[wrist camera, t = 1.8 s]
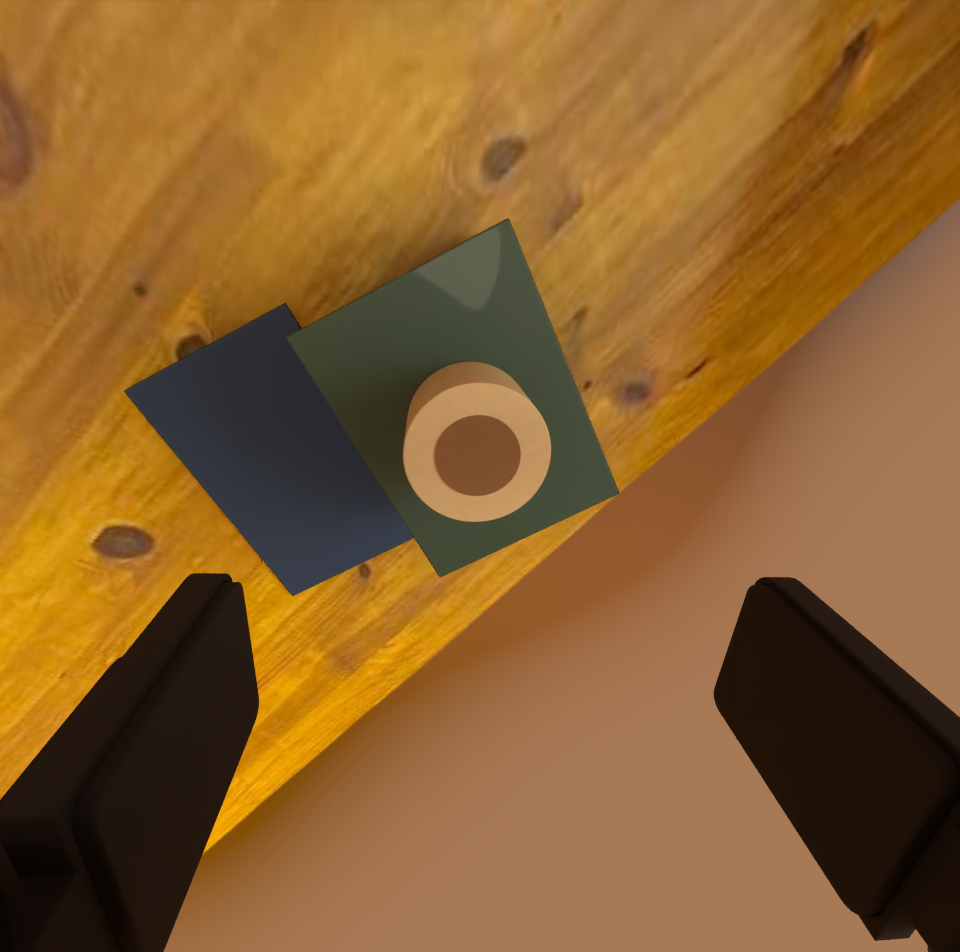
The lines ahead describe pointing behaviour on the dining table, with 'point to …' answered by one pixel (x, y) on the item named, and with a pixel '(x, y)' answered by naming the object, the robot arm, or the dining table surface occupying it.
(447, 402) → the tape
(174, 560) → the dining table surface
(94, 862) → the robot arm
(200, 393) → the mat
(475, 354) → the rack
